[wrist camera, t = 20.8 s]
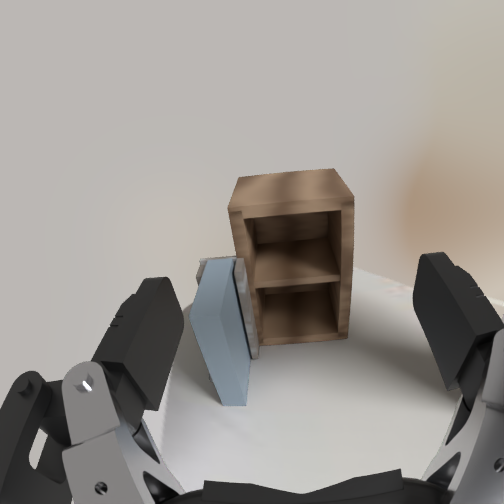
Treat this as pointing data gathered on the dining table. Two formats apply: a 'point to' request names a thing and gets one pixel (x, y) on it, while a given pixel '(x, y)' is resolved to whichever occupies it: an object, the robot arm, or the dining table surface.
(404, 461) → the dining table surface
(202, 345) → the door
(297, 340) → the cabinet
